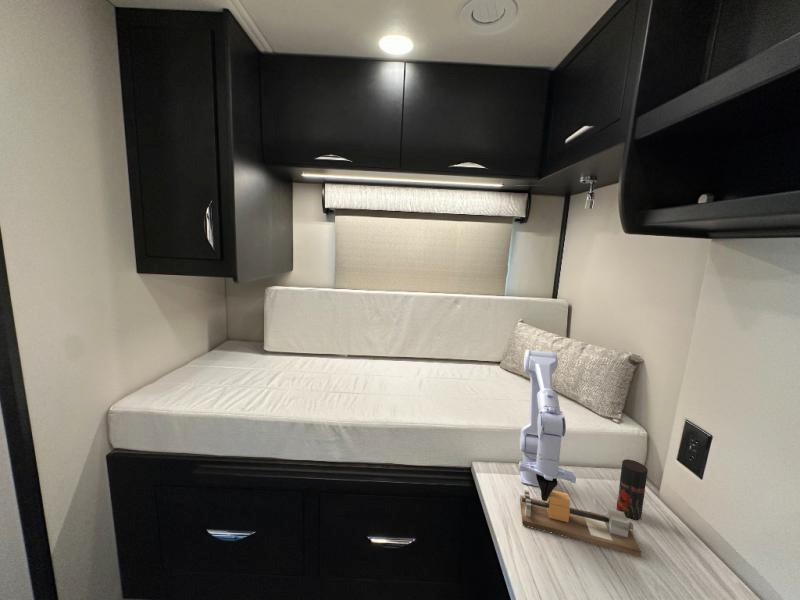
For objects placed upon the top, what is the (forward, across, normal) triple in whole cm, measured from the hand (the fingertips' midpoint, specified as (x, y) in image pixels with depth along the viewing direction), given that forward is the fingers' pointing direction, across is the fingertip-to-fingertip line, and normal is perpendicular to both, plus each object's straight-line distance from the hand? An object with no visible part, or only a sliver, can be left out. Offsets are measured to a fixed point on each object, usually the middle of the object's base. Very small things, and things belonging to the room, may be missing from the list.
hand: (543, 498), depth 88 cm
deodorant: (+6, +25, +11) cm, 28 cm away
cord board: (+6, +8, 0) cm, 10 cm away
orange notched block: (+4, +4, 0) cm, 5 cm away
